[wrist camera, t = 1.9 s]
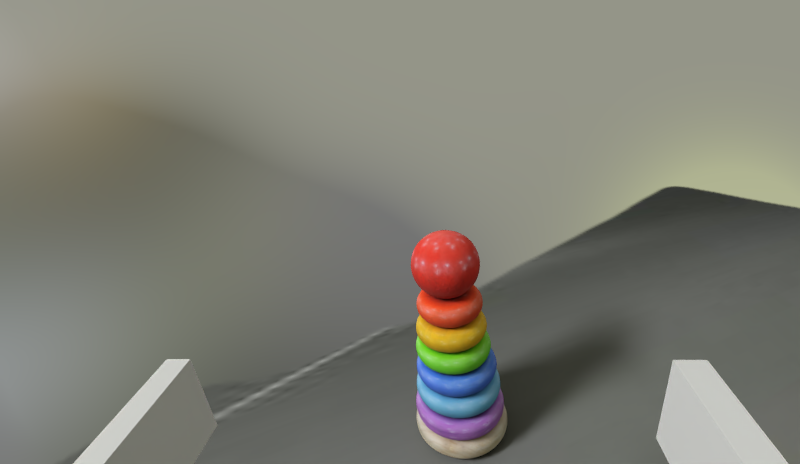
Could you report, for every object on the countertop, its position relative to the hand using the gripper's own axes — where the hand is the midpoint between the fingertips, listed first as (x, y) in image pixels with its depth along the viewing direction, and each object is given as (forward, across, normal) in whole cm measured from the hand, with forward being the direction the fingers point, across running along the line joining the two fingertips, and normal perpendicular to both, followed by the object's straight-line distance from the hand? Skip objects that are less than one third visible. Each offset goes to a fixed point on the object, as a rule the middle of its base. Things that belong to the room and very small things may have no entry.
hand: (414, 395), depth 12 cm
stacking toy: (+18, +1, -23) cm, 29 cm away
